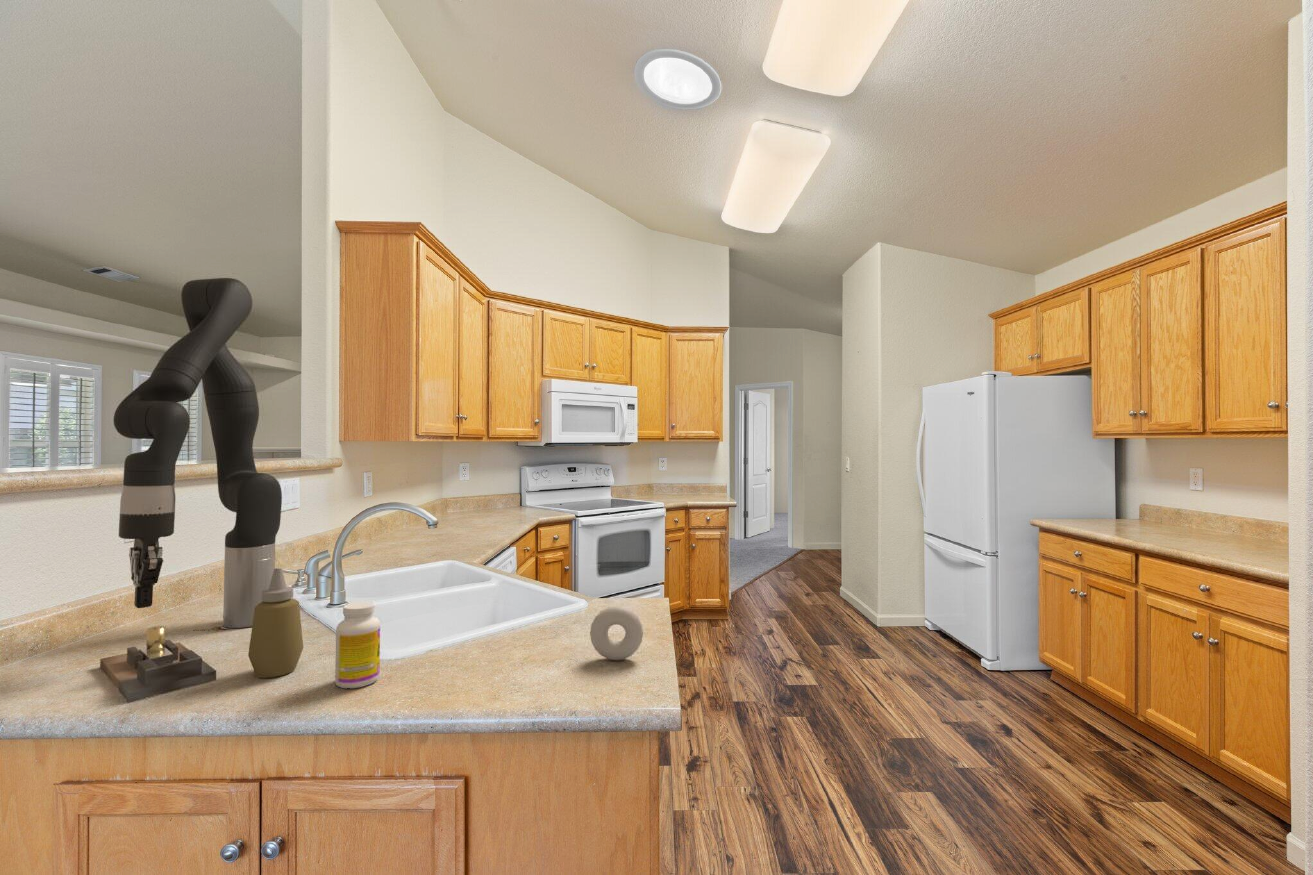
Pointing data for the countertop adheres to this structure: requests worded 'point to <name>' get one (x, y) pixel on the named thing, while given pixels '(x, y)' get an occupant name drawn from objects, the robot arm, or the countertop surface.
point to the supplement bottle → (357, 646)
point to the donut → (618, 648)
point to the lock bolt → (157, 647)
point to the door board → (156, 672)
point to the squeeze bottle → (276, 630)
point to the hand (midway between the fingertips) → (143, 606)
